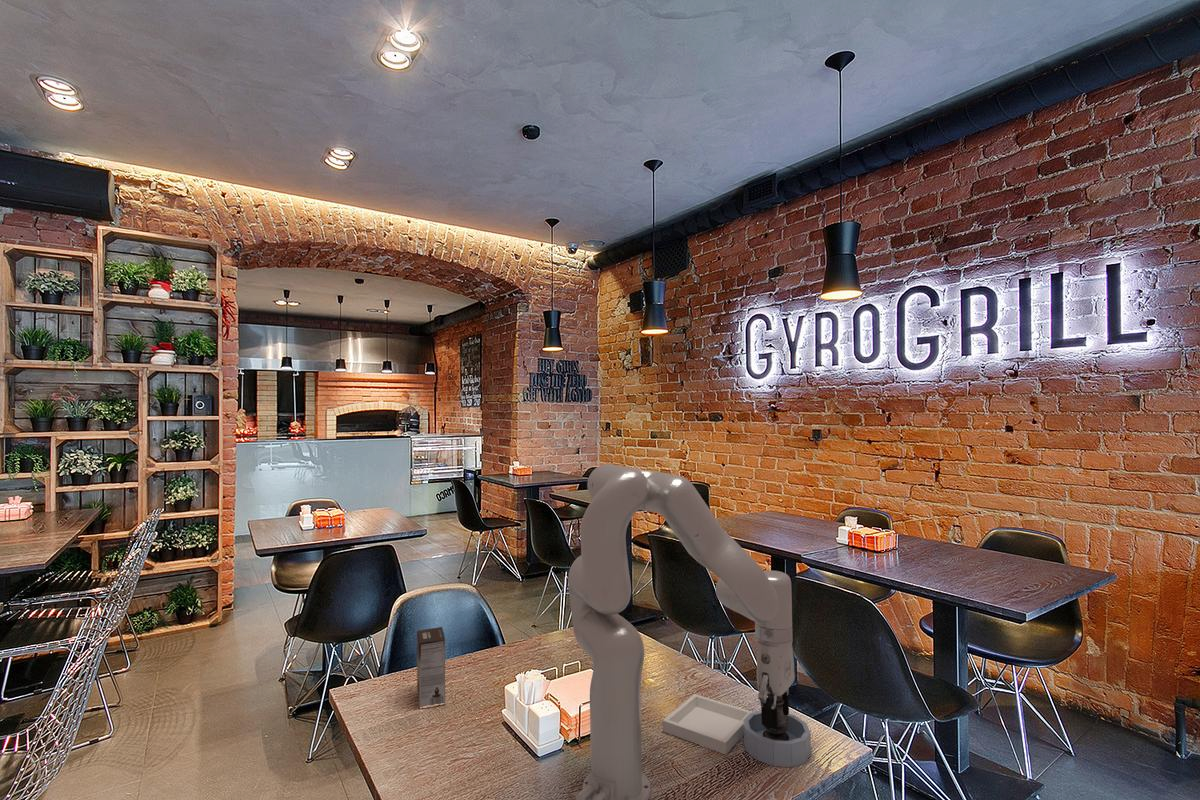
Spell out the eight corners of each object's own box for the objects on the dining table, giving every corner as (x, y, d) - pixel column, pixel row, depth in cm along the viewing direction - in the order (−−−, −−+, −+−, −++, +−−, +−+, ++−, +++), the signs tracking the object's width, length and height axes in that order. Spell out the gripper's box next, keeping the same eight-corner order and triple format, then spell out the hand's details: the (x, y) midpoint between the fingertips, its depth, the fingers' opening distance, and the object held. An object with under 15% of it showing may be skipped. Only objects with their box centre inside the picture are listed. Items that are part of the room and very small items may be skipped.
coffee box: (416, 693, 146) (416, 629, 147) (442, 689, 148) (442, 626, 149) (419, 710, 138) (418, 642, 138) (446, 705, 140) (446, 638, 140)
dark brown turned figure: (792, 745, 116) (791, 685, 117) (762, 742, 118) (761, 683, 118) (788, 730, 122) (787, 672, 123) (760, 727, 123) (759, 670, 124)
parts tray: (726, 755, 118) (725, 742, 118) (662, 731, 127) (662, 720, 127) (754, 723, 130) (754, 712, 130) (694, 704, 139) (694, 693, 139)
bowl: (797, 774, 111) (797, 751, 111) (734, 752, 119) (734, 729, 119) (818, 743, 121) (817, 722, 121) (758, 724, 129) (758, 704, 129)
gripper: (776, 649, 112) (778, 744, 111) (804, 624, 125) (806, 708, 125) (740, 641, 116) (741, 732, 115) (771, 617, 130) (772, 698, 129)
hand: (775, 718), depth 120 cm, fingers closed on dark brown turned figure, 5 cm apart
